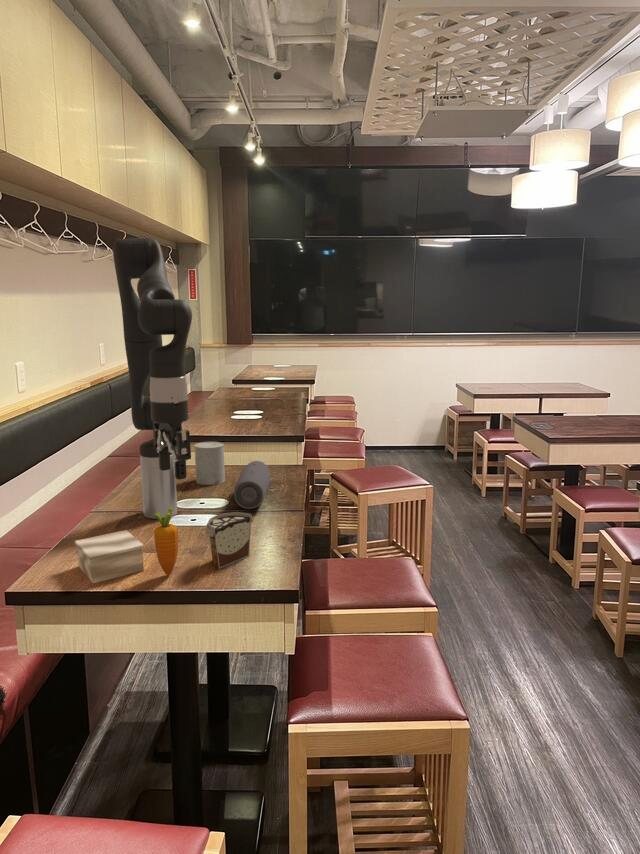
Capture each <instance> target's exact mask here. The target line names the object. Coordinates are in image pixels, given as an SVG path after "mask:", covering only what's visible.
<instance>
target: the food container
mask: <svg viewBox="0 0 640 854" xmlns="http://www.w3.org/2000/svg"><path fill="white" fill-rule="evenodd" d="M253 520H254V519H253V516H252V514H251V513H247V512H239V511H238V512H237V511H236V512H225V513H221V514H216V515H214V516H211V518H209V519H208V521H207V523H206V527H205V533H206V534H207V535H208V536H209V542H210V543H209V544H210V550H211V557H212V565H213V566H214V567H215V568H216V569H217V570H220V569H223V568H225V567H227V566H230V565H232V564H234V563H237V562H239V561H241V560H244V559H247V558H248V557H250V550H251V549H250V548H251V547H250V546H251V531H252V527H251V526H252V523H253V522H254V521H253Z"/></svg>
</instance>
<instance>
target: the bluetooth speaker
mask: <svg viewBox="0 0 640 854" xmlns="http://www.w3.org/2000/svg"><path fill="white" fill-rule="evenodd" d="M270 480H271V472H270V468H269V467H268V465H267V464H265V462H263V461H260V460H254V461H251V462H249V463H248V464H246V465H245V466H244V468H243V469H242V470H241V473H240V474H239V476H238V478H237V481H236V483H235V487H234V489H233V490H234V491H233V498H234V501H235V502H236V505H238V506H239V507H241V508H242V509H245V510H253V509H256V508H257V507H259V506H260V505H261V504H262V503H263V501H264V499H265V497H266V495H267V494H268V490H269V487H270Z"/></svg>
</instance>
